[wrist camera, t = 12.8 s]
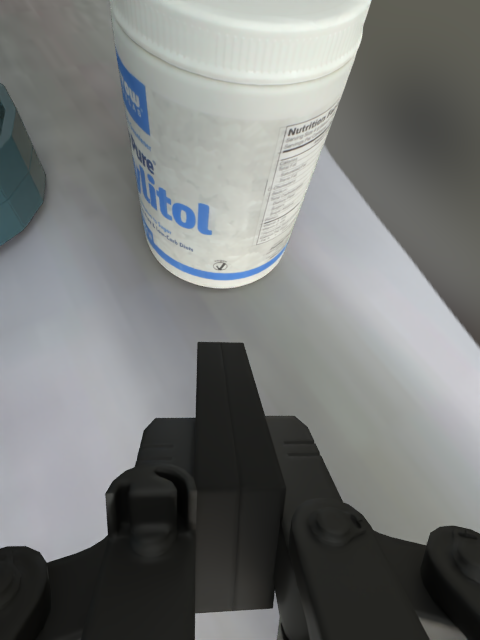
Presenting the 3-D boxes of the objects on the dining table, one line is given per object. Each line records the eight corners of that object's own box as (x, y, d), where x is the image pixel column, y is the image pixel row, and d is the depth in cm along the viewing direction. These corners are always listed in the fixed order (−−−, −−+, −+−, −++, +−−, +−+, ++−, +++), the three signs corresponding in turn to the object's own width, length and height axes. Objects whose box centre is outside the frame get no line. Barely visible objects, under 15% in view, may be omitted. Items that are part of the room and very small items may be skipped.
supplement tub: (116, 246, 24) (26, -61, 11) (199, 167, 29) (203, -122, 16) (241, 322, 23) (303, 63, 10) (310, 226, 27) (416, -42, 14)
